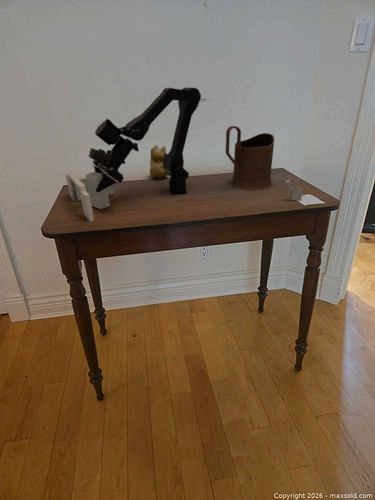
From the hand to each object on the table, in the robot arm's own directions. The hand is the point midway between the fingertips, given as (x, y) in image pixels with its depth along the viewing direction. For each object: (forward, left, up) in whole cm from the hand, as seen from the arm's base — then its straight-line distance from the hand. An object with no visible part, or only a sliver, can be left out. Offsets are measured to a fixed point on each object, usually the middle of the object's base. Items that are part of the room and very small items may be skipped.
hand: (93, 189), depth 111 cm
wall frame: (+6, -3, -7) cm, 10 cm away
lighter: (-73, +3, -7) cm, 74 cm away
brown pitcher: (-61, -18, -8) cm, 64 cm away
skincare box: (-1, -1, -7) cm, 7 cm away
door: (+3, -12, -7) cm, 15 cm away
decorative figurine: (-23, -36, -7) cm, 44 cm away
